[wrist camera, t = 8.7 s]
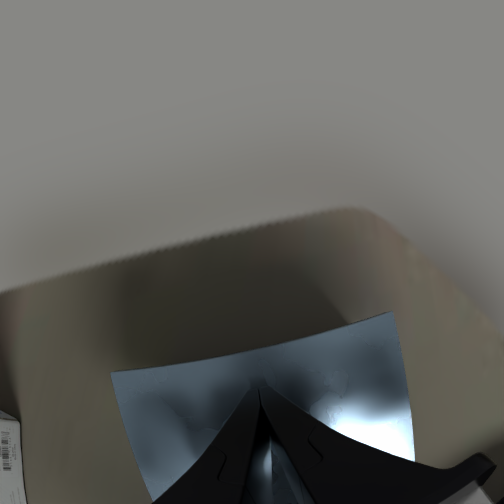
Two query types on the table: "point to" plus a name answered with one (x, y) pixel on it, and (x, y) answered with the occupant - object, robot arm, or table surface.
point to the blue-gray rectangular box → (283, 381)
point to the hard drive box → (10, 462)
